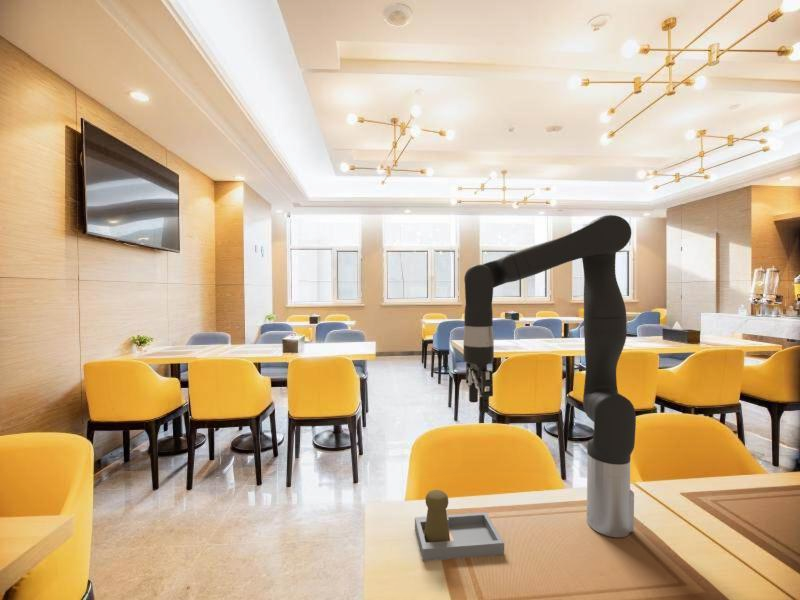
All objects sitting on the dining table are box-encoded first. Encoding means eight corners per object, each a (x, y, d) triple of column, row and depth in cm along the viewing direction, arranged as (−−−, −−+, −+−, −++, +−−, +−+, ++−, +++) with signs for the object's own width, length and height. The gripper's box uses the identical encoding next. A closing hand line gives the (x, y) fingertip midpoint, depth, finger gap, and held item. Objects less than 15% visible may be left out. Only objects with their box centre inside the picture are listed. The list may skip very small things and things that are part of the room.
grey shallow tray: (486, 522, 94) (486, 512, 94) (504, 554, 82) (504, 542, 82) (414, 527, 92) (414, 517, 92) (422, 561, 80) (422, 549, 80)
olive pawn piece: (449, 551, 83) (449, 501, 82) (422, 547, 84) (421, 498, 84) (451, 533, 88) (451, 487, 88) (425, 530, 90) (425, 484, 89)
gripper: (503, 347, 89) (503, 415, 90) (483, 339, 103) (483, 398, 104) (472, 347, 88) (472, 416, 89) (456, 340, 103) (456, 399, 103)
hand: (478, 406), depth 96 cm, fingers open, 8 cm apart
